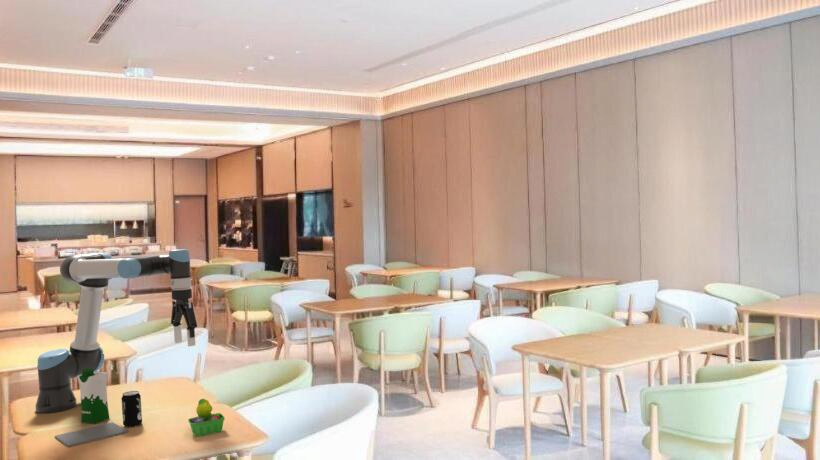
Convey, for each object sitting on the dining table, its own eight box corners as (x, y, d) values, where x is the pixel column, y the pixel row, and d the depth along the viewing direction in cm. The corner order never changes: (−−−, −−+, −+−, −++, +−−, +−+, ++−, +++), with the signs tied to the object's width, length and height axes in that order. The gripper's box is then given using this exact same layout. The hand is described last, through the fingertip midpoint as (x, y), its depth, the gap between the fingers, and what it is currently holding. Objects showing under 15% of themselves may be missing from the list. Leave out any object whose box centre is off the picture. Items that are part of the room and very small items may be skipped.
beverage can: (135, 427, 250) (133, 395, 249) (119, 427, 251) (117, 395, 251) (145, 422, 256) (143, 390, 256) (130, 422, 257) (128, 390, 257)
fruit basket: (192, 438, 233) (190, 405, 233) (187, 432, 241) (186, 400, 241) (226, 432, 239) (224, 400, 238) (220, 425, 247) (218, 394, 246)
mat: (54, 437, 243) (54, 435, 243) (112, 423, 256) (112, 422, 256) (68, 447, 231) (67, 445, 231) (128, 432, 244) (128, 430, 244)
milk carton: (77, 423, 260) (74, 370, 259) (97, 416, 268) (94, 365, 267) (94, 425, 256) (90, 372, 255) (113, 418, 264) (110, 366, 264)
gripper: (159, 288, 273) (163, 342, 274) (185, 291, 255) (188, 349, 256) (178, 286, 278) (181, 339, 279) (204, 289, 260) (207, 345, 261)
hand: (185, 344), depth 267 cm, fingers open, 12 cm apart
